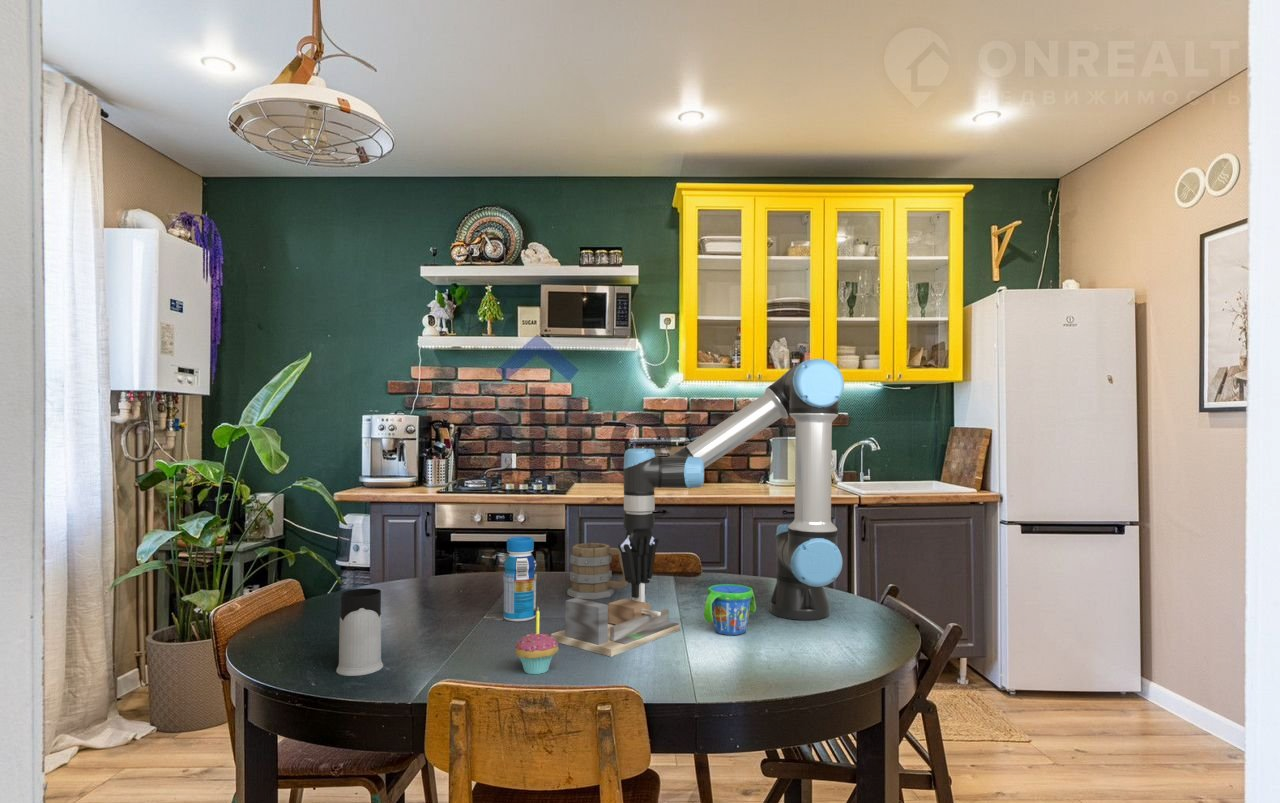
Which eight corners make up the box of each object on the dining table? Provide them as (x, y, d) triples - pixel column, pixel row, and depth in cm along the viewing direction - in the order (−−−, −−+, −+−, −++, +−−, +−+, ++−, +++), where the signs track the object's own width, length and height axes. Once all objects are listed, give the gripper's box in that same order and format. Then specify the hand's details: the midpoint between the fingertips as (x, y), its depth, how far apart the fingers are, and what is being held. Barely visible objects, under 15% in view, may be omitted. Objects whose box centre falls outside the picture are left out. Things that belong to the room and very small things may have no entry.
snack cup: (740, 621, 176) (740, 580, 176) (770, 632, 167) (770, 588, 167) (690, 631, 167) (690, 588, 167) (719, 643, 158) (719, 597, 159)
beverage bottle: (496, 620, 177) (496, 539, 177) (514, 612, 184) (515, 535, 185) (525, 623, 173) (526, 541, 174) (542, 615, 181) (543, 537, 182)
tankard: (563, 598, 199) (564, 545, 200) (575, 588, 212) (575, 538, 212) (633, 601, 196) (633, 547, 197) (641, 591, 208) (641, 540, 209)
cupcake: (517, 663, 144) (517, 604, 145) (559, 662, 145) (559, 603, 145) (513, 678, 136) (513, 615, 136) (557, 677, 136) (558, 614, 137)
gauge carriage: (667, 626, 164) (667, 606, 164) (651, 632, 159) (651, 612, 160) (624, 617, 172) (624, 598, 172) (608, 622, 168) (608, 603, 168)
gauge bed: (680, 630, 168) (680, 589, 168) (611, 656, 149) (611, 611, 149) (622, 617, 179) (622, 579, 180) (550, 640, 160) (551, 598, 160)
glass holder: (336, 678, 136) (337, 599, 136) (335, 656, 149) (337, 584, 149) (384, 672, 139) (385, 595, 140) (380, 651, 152) (381, 580, 153)
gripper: (643, 508, 179) (643, 602, 178) (609, 513, 169) (609, 613, 168) (667, 511, 174) (667, 607, 173) (633, 515, 164) (633, 618, 163)
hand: (638, 610), depth 171 cm, fingers closed
